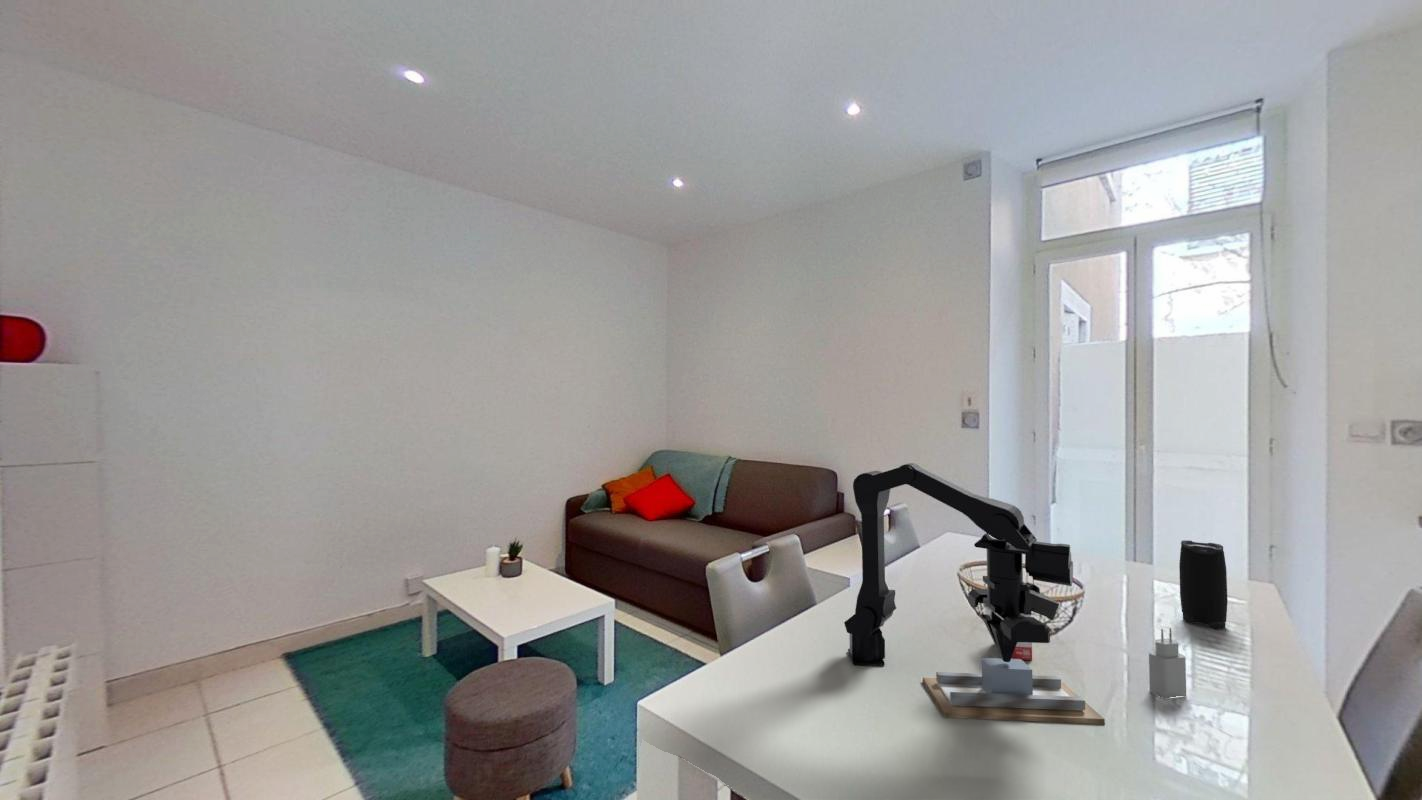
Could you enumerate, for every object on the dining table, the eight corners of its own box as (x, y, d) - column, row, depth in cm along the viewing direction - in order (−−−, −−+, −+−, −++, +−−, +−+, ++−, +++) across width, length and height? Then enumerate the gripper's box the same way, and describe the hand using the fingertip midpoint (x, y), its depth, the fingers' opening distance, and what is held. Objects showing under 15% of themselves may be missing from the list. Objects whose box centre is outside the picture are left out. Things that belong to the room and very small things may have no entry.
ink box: (1033, 661, 111) (1032, 604, 111) (1008, 659, 112) (1007, 603, 112) (1018, 643, 119) (1017, 591, 120) (994, 641, 120) (994, 589, 121)
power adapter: (1188, 696, 97) (1187, 630, 97) (1164, 699, 96) (1162, 632, 96) (1171, 687, 100) (1169, 623, 100) (1147, 690, 99) (1145, 626, 99)
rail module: (991, 699, 94) (991, 668, 94) (982, 687, 98) (981, 657, 98) (1033, 701, 93) (1033, 669, 94) (1022, 689, 97) (1021, 659, 98)
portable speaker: (1225, 621, 131) (1223, 542, 132) (1230, 634, 124) (1228, 550, 124) (1179, 613, 137) (1178, 537, 137) (1181, 624, 129) (1179, 544, 130)
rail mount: (944, 717, 91) (944, 700, 91) (922, 681, 103) (922, 667, 103) (1104, 723, 89) (1104, 706, 89) (1063, 686, 101) (1062, 671, 101)
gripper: (1083, 593, 86) (1084, 689, 86) (1024, 561, 105) (1026, 640, 104) (1011, 591, 87) (1013, 687, 87) (966, 559, 106) (967, 638, 105)
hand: (1006, 661), depth 96 cm, fingers closed
